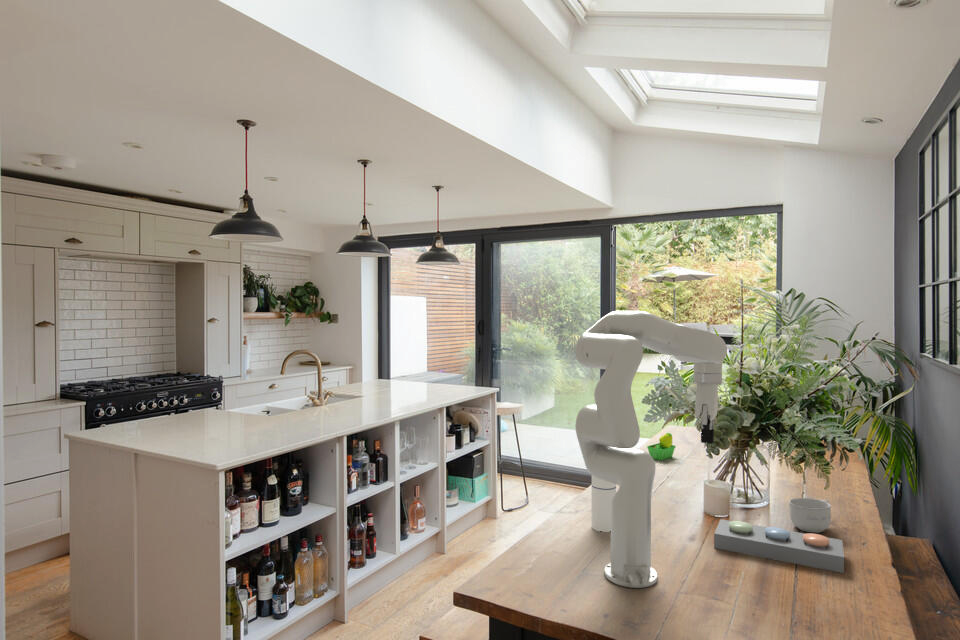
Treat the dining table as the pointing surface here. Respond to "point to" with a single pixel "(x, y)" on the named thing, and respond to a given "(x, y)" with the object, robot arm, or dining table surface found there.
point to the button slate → (777, 533)
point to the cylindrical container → (602, 504)
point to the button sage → (740, 527)
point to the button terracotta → (816, 540)
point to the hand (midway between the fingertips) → (707, 442)
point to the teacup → (810, 514)
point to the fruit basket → (662, 448)
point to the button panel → (780, 547)
